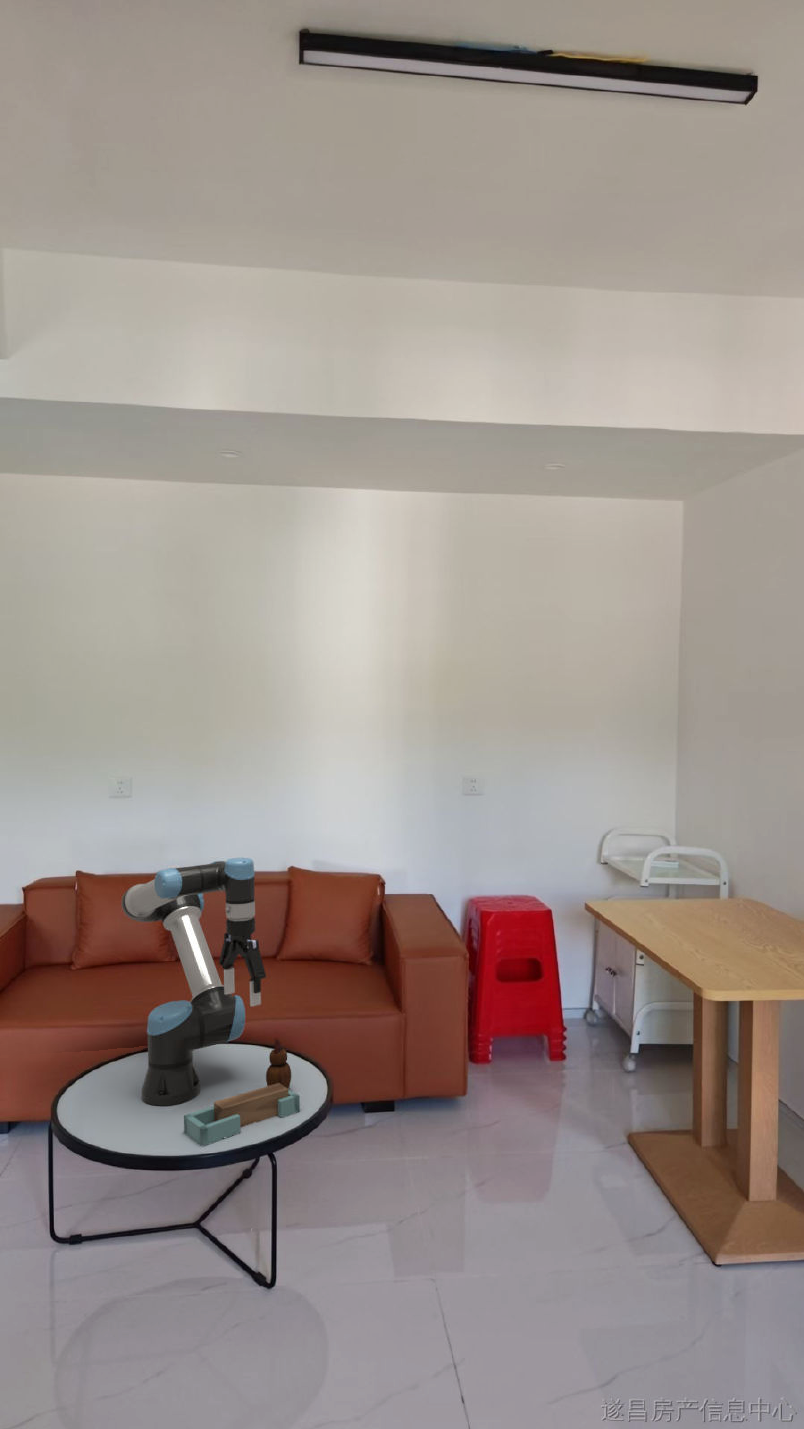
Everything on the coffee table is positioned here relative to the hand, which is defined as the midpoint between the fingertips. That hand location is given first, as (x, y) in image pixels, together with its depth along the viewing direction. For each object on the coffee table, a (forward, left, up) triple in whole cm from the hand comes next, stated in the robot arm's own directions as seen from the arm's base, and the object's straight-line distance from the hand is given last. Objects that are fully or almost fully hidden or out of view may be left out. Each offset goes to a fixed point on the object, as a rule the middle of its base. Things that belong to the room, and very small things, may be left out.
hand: (242, 999), depth 225 cm
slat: (+10, -4, -27) cm, 29 cm away
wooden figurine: (+1, +10, -27) cm, 29 cm away
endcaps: (+10, -6, -27) cm, 29 cm away
